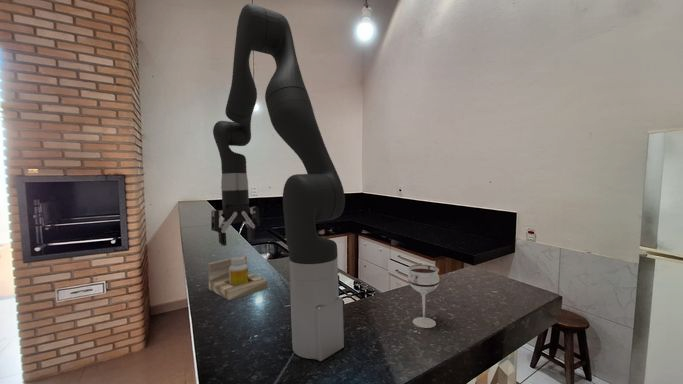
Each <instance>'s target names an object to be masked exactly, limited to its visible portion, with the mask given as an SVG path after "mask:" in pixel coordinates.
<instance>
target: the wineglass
mask: <svg viewBox="0 0 683 384" xmlns="http://www.w3.org/2000/svg"><path fill="white" fill-rule="evenodd" d="M407 269H408V274H407V280H408V284H409V286H411V288H412V289H413V290H414V291H416V292H419V294H421V304H422V316H421V317H420V316H419V317H415V318H413V320H412V323H413V325H414V326H417V327H419V328H424V329H425V328H426V329H428V328H429V329H430V328H434V327H436V325H437V323H436V321H435V320H434V319H432V318H429V317H426V295H427V294H428V293H431V292H433V291H434V290H435V289H437V288H438V286H439V284H440V275H439V274H438V273H439V271H440V269H439V268H438V266H436V265H435V266H434V265H429V264H412V265H410V266H408V267H407Z"/></svg>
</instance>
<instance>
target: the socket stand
mask: <svg viewBox="0 0 683 384" xmlns="http://www.w3.org/2000/svg"><path fill="white" fill-rule="evenodd" d="M238 257H245V264H247V265H248V256H247V255H240V256H239V255H238ZM232 258H233V257H230V258H226V259H220V260H217V261H211V262H208V263H207V271H208V272H207V274H208V275H207V277H208V290H210V291H212V292H213V293H216V295H219V296H220V297H223V298H224V299H225V300H227V301H231V300H232V301H233V300H235V299H238V298H242V297H245V296H248V295H251V294H255V293H257V292H260V291H263V290H266V289H268V280H267V279H265V278H263V277H260V276H257V275H255V274H252V273H250V272H248V283H245V284H241V285H238V286H234V287H233V286H231V285H230V284H229V267H230V266H231V265H232V264H231V259H232Z"/></svg>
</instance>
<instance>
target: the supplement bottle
mask: <svg viewBox="0 0 683 384" xmlns="http://www.w3.org/2000/svg"><path fill="white" fill-rule="evenodd" d="M231 258H232V259H231V264H232V265H231V266H230V267H229V284H230V285H231V286H233V287H234V286H238V285H241V284H245V283H248V273H249V268H248V267H249V266H248V263H247V264H245V257H239V256H235V257H231Z"/></svg>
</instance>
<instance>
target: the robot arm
mask: <svg viewBox="0 0 683 384" xmlns="http://www.w3.org/2000/svg"><path fill="white" fill-rule="evenodd" d="M235 34H236V35H235V41H234V42H235V43H234V44H235V45H234V51H233V53H234V54H233V62H232V63H233V64H232V65H233V66H232V74H231V75H232V77H231V79H232V80H231V85H230V90H229V94H228V97H227V98H228V99H227V101H226V106H225V116H226V117H227V119H229V120H230V121H229V120H219V121H217V122H215V124H214V126H213V128H212V134H213V138H214V141H215V145H216V146H217V149H218V154H219V157H220V163H221V164H220V165H221V168H220V169H221V181H220V182H221V185H220V189H221V201H222V202H221V203H222V205H221V206H222V209H221V210H218V209H217V210H216V209H213V210H211V212H210V213H211V214H210V215H211V216H210V217H211V220H210V221H211V222H210V224H211V227H210V230H211V231H213V232H217V233H218V234H217V235H218V243H219V244H220V245H221V246H227V233H226V231H227V229H228V228H229V227H230V226H231V225H232V224H237V223H243V224H245V225H246V227H247V230H246V231H247V233H246V234H247V241H248V242H252V241H254V240H255V234H256V233H255V228H257V227H259V226H260V225H261V218H260V210H259V209H260V208H259V207H258V206H252V207H250V206H249V203H250V199H249V197H250V196H249V195H250V194H249V179H248V173H247V158H246V156H245V155H244V154H243V153H242V154H241V153H238V152H235V151H232V149H231V148H230V146H231V147H244V146H247V145H248V144H249V143H250V142H251V139H252V129H251V128H252V126H251V125H252V124H251V123H252V116H253V113H254V109H255V107H256V103H257V98H258V92H257V91H258V90H257V86H256V83H255V80H254V76H253V74H252V69H251V67H250V57H251V52H252V51H254V52H259V53H262V54H266V55H270V56H271V57H272V58H273V59H274V63H275V67H276V68H275V71H274V73H273V75H272V76H271V78H270V79H269V82H268V84H267V87H266V89H265V93H264V99H265V100H264V101H265V104H266V109H267V113H268V116H269V119H270V122H271V125H272V127H273V129H274V130H275V132H276V133H277V134H278V136H279V137H280V138H281V139H282V140H283V142H285V144H286V145H288V146H289V148H290V149H291V150H292V151H293V152H294V153H295V154H296V155H297V156H298V158H299V160H300V161H301V162H302V164H303V167H304V168H305V171H306V173H299V174H298V173H297V174H292V175H291V176H289V177H288V178H287V179H286V181H285V183H284V186H283V191H282V210H283V218H284V219H283V220H284V221H283V222H284V230H285V243H286V245H287V249H288V260H289V262H288V265H289V287H290V288H289V289H290V290H289V291H290V317H291V318H290V320H291V341H292V344H291V345H292V346H291V347H292V351H293V353H294V354H295V355H297V356H298V357H301V358H303V359H308V360H309V359H311V360H317V361H319V362H323V361H324V360H325V359H327V358H328V357H330V356H332V355H334V354H335V353H337V352H339V351H340V350H342V349H343V348H344V346H345V338H344V337H345V335H344V310H343V309H344V305H343V303H344V302H343V298H342V297H340V296H339V265H338V262H339V259H338V256H339V255H338V244H337V243H336V241H334V240H332V239H330V238H327V237H321V236H320V235H319V234H318V233H317V228H316V223H318V222H319V223H321V222H326V221H332V220H336V219H338V218H339V217H341V215H343V212H344V209H345V205H346V196H345V190H344V187H343V184H342V181H341V179H340V175H339V174H338V171H337V169H336V166H335V164H334V163H333V161H332V158H331V157H330V154H329V151H328V149H327V147H326V144H325V142H324V139H323V136H322V133H321V130H320V127H319V125H318V123H317V119H316V116H315V113H314V108H313V105H312V102H311V99H310V97H309V96H310V95H309V93H308V90H307V88H306V85H305V81H304V78H303V76H302V73H301V72H302V71H301V69H300V65H299V62H298V57H297V54H296V53H297V52H296V48H295V42H294V38H293V33H292V29H291V26H290V23H289V20H288V19H287V18H286V16H284V15H283V14H282V13H279V12H277V11H274V10H271V9H268V8H266V7H263V6H261V5H257V4H253V3H247V4H245V5H244V6H243V7H242V8H241V11H240V13H239V17H238V20H237V25H236V33H235ZM250 214H251V218H252V219H251V218H250V217H249V215H250ZM222 216H223V220H222V221H221V223H220V218H221V217H222Z"/></svg>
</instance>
